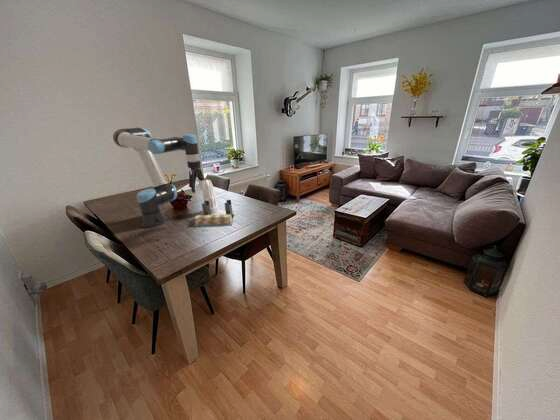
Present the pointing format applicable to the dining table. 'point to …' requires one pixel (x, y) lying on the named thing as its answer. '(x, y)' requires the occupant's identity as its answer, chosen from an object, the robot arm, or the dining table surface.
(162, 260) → the dining table surface
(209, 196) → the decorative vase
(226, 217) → the rail
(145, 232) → the dining table surface
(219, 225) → the mat
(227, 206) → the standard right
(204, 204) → the standard left
